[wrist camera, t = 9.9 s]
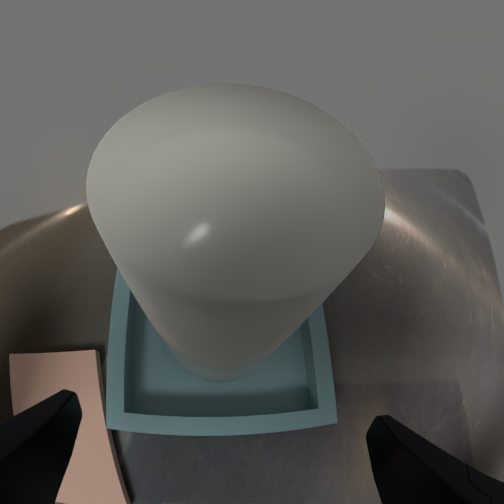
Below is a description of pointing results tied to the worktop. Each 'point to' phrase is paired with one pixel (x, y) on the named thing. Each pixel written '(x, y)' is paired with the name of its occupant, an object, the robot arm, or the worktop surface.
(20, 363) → the plate
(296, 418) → the tray
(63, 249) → the worktop surface
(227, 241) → the frosted white cylinder
